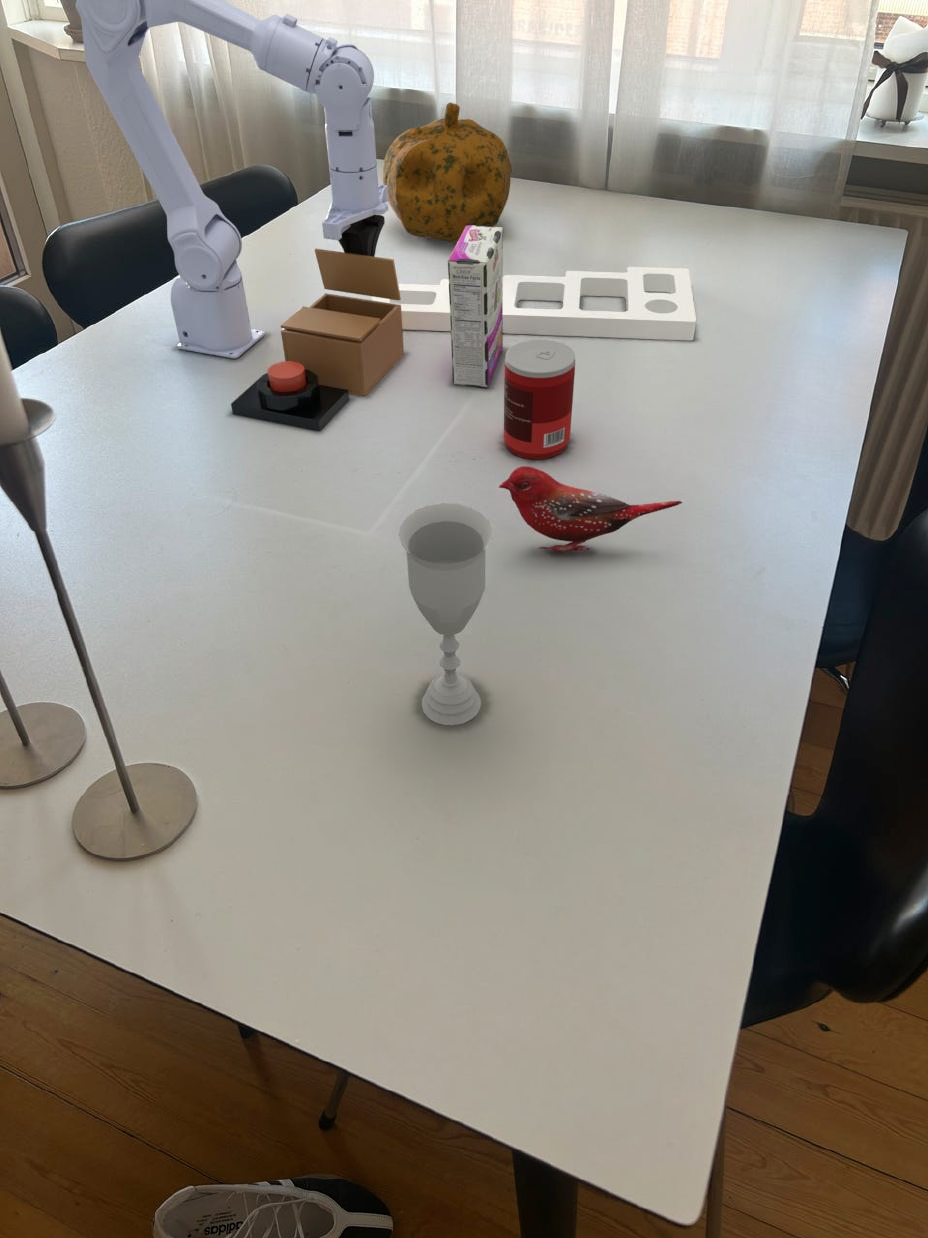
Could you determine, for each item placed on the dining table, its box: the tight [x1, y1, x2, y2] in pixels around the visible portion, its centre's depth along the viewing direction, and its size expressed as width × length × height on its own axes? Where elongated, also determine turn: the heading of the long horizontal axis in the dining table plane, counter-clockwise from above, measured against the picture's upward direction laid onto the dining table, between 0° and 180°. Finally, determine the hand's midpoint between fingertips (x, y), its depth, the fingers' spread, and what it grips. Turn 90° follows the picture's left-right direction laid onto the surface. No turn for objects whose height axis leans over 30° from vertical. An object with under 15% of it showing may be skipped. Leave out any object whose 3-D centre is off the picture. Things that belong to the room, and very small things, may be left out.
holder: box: [370, 266, 697, 342], centre depth 139 cm, size 45×18×3 cm, turn 83°
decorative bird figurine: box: [498, 465, 683, 553], centre depth 94 cm, size 3×18×10 cm, turn 88°
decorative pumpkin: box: [382, 101, 513, 243], centre depth 156 cm, size 20×21×20 cm
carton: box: [280, 292, 405, 397], centre depth 124 cm, size 12×11×8 cm
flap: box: [314, 248, 401, 301], centre depth 123 cm, size 6×11×1 cm
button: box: [267, 360, 306, 392], centre depth 117 cm, size 4×4×2 cm
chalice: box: [398, 502, 493, 726], centre depth 76 cm, size 7×7×18 cm
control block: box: [230, 369, 350, 432], centre depth 118 cm, size 12×8×4 cm, turn 69°
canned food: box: [503, 339, 576, 460], centre depth 109 cm, size 8×8×11 cm
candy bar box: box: [447, 225, 504, 388], centre depth 121 cm, size 11×5×16 cm, turn 168°
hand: (362, 276), depth 125 cm, fingers closed
